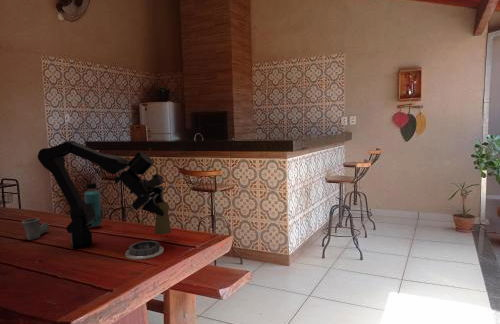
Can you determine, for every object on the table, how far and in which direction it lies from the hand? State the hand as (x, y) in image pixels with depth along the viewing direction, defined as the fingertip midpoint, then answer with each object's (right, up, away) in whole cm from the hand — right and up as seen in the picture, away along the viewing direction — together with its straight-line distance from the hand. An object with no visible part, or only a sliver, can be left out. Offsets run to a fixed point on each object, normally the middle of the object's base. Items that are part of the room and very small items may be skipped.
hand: (165, 213), depth 138 cm
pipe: (-57, -13, +18) cm, 61 cm away
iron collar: (-6, -13, -6) cm, 15 cm away
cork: (-1, -7, +1) cm, 7 cm away
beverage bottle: (-38, -11, +29) cm, 49 cm away
